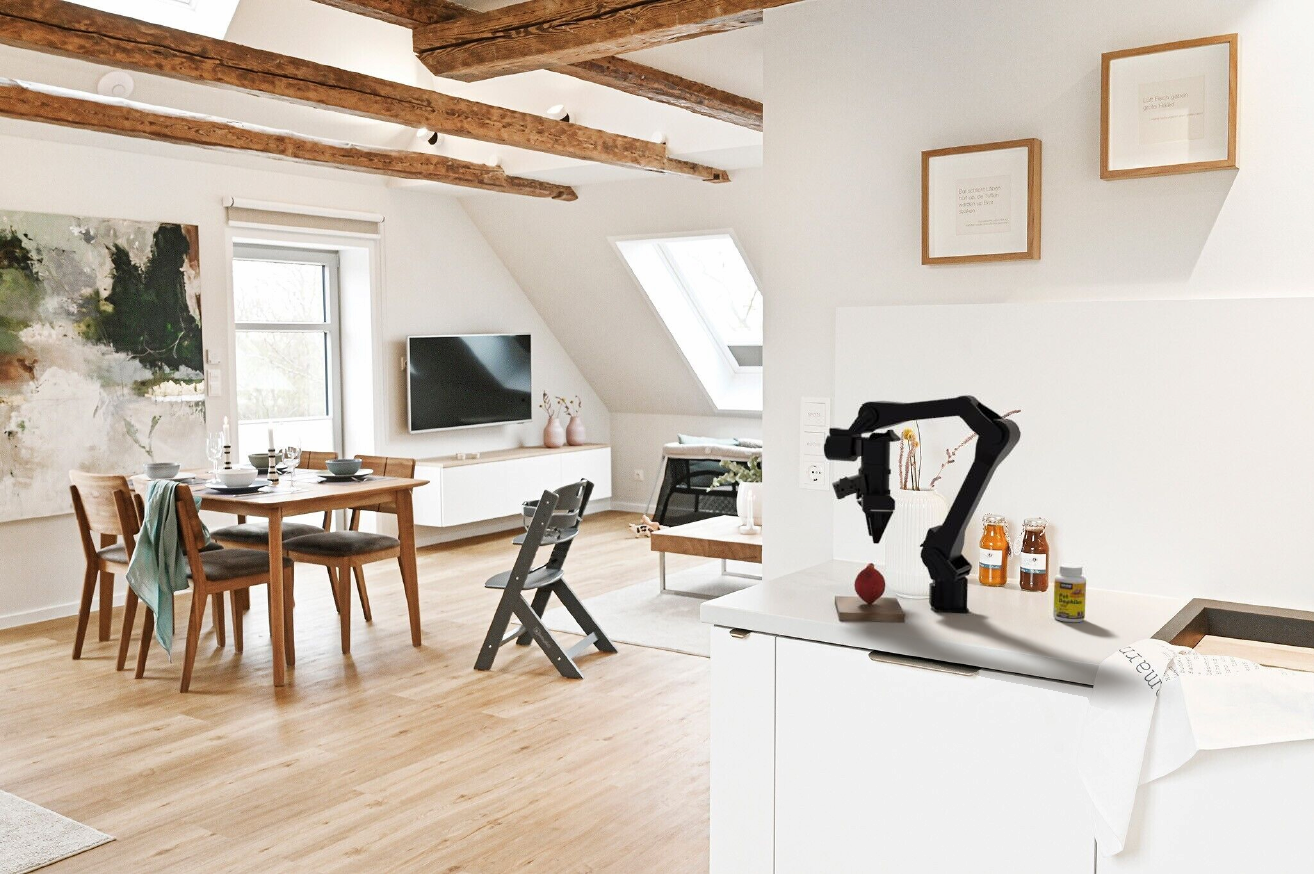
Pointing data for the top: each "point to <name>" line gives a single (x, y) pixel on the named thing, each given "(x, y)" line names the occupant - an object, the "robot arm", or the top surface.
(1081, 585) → the supplement bottle
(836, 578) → the top surface
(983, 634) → the top surface
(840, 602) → the walnut board
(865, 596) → the onion
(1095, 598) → the top surface
